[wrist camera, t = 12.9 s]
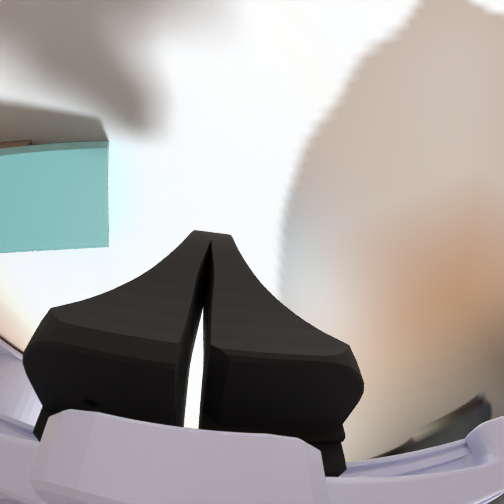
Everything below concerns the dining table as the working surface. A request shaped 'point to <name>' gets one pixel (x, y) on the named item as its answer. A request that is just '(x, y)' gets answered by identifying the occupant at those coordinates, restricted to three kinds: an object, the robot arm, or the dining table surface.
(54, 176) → the domino
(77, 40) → the dining table surface
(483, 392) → the dining table surface
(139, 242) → the dining table surface
